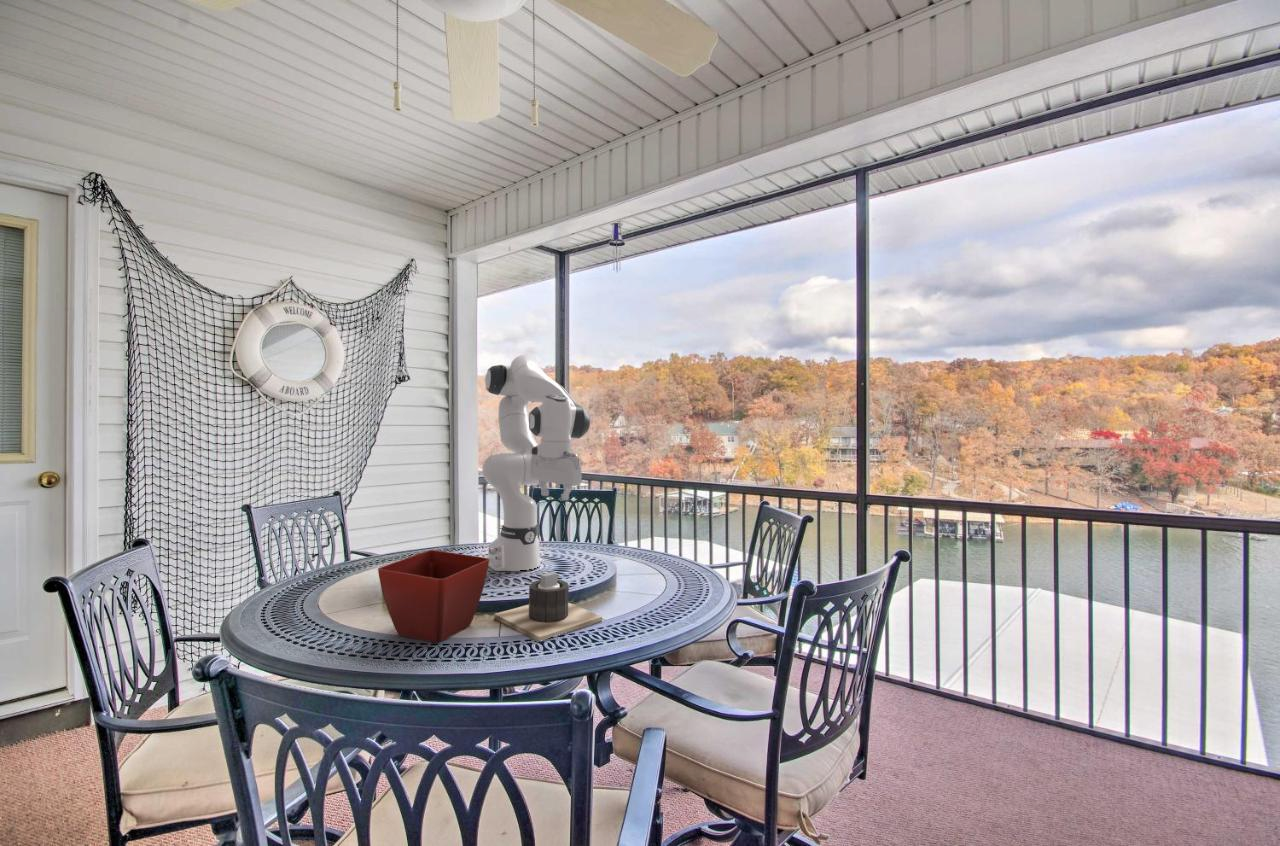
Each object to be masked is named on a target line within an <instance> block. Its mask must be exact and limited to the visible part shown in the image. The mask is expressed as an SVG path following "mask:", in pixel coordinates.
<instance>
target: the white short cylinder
mask: <svg viewBox="0 0 1280 846" xmlns="http://www.w3.org/2000/svg"><path fill="white" fill-rule="evenodd" d="M558 577H559V576H558V572H555V571H549V572H546V573H542V574H540V579H539V580H540V584H539V585H538V588H539V589H544V590H553V589H558V588H560V585H559V584H558V583H557V580H558Z"/></svg>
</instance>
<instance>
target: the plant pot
mask: <svg viewBox="0 0 1280 846" xmlns="http://www.w3.org/2000/svg"><path fill="white" fill-rule="evenodd" d="M483 557H484V556H483ZM483 557H482V556H476V555H469V554H462V553H455V552H448V551H441V550H437V549H429V550H425V551H423V552H421V553H420V552H419V553H417V554H414V555H411V556H409V557H406V558H404V559H401V560H397V561H395V562H394V561H393V562H391V563H389V564H386V565H383V566H380V567H378V568H377V572H378V578H379V583H380V588H381V593H382V596H383V600H384V603H385V605H386V608H387V612H388V615H389V617H390V619H391V621H392V624H393V627H394V629H395V632H396V634H397V635H399V636H403V637H409V638H412V639H418V640H422V641H426V642H432V643H436V644H437V643H441V642H443V641H445V640H446V639H448V638H450V637H452V636H453V635H455V634H457V633H458V632H460V631H462V630H464V629H465V628H467V627H469V626H470V625H472V622H473V619H474V617H475V614H476V612H477V609H478V606H479V604H480V600H481V597H482V594H483V591H484V586H485V582H486V579H487V574H488V570H489V569H488V568H489V566H488V565H489V559H488V558H483Z"/></svg>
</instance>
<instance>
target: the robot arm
mask: <svg viewBox="0 0 1280 846" xmlns="http://www.w3.org/2000/svg"><path fill="white" fill-rule="evenodd" d="M484 382H485V383H484V384H485V387H486V390H487V392H488V393H490V394H492V395H495V396H499V395H501V396H503V397H502V398H501V399H500V401H499V405H498V425H499V434H500V441H501V443H502V445H503V446H504V447H505V448H506V449H507V450H509V451H512V453H511V452H510V453H506V452H505V453H496V454H493V455H489V456H488V457H487V458H486V459H485V460H484V462H483V465H482V470H481V471H482V477H483V479H484V480H485V482H487V484H489V485H490V486H492V487H493V488H494V489H495V490H496V492H497V493H498V494H499V496H500V499H501V500H502V501H501V502H502V508H503V509H502V511H503V524H501V525H499V530H500V534H499V536H498V537H497V538H495V539H494V540H493V541H492V542H491V543H490V544H489V545H488V554H487V555H485V556H483V558H488V559H489V565H488V568H490V569H492V570H494V571H495V572H505V571H506V572H521V571H520V570H527V571H530V570H529V569H532V570H535V569H534V568H536V569H538V568H540V567H541V563H542V562H543V558H542V557H541V552H540V551H541V550H540V549H541V548H540V539H539V538H538V531H539V529H538V528H539V527H538V524H537V513H538V511H537V503H536V500H535V499H533V498H532V497H531V496H530V495H527V494H525V493H522V492H521V490H520V489H521V486H534V485H536V486H537V485H539V487H540V493H541V497H542V496H543V497H548V496H550V489H548V486H547V484H548V483H552V484H558V485H563V486H562V488H563V489H564V490H563V493H561V494H560V500H562V501H569V499H570V494H571V492H572V490H573V487H579V486H581V484H582V479H583V477H582V467H581V461H580V458H579V456H578V455H577V453H575V452H572V439H581V438H582V437H583V436H585V434H587V433H588V431H589V429H590V425H591V420H590V419H591V418H590V415H589V413H588V411H587V410H586V409H585V408H584V407H583V405H580V404H578V403H577V402H576V400H575V399H574V398H573V396H572V395H570V393H569V392H568V391H567V390H566V388H564V386H563V385H561V384H560V383H558V382H556V381H555V380H554V379H552V378H550V376H548V375H547V373H545V371H544V370H543V369H542V366H541V365H540V364H539V363H538V362H537V360H536V359H535V358H533V357H532V356H529V355H527V354H522V355H518V356H517V357H515V358H514V359H513V360H512V361H511V363H510V365H503V364H497V365H492V366H490V367H489V368H488V369H487V371H486V373H485V378H484ZM529 402H531V403H541V404H540V405H539V406H535V407H534V408H533V409H531V411H529V409H528V404H529ZM535 437H538V438H539V437H540V443H538V442H537V440H536V438H535ZM537 567H538V568H537Z"/></svg>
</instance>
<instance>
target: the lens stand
mask: <svg viewBox="0 0 1280 846" xmlns="http://www.w3.org/2000/svg"><path fill="white" fill-rule="evenodd" d="M557 583H558V584H559V585H560V588H558V589H553V590H544V589H539V588H538V585H539V584H540V579H539V580H536V581H535V580H534V581H533V582H531V583H530V584H529V589H528V604H525V605H521V606H519V607H515V608H511V609H508V610H503V611H500V612H496V613H494V617H493V619H494V620H496V621H498V622H501V623H502V624H503V625H506V626H508V627H510V628H512V629H514V630H516V631H517V632H519V633H521V634H523V635H525V636H528V637H530V638H531V639H533V640H535V639H536V640H535V641H537V640H538V641H537V642H539V641H541V640H544V641H546V640H545V639H547V638H550V637H553V636H555V635H559V634H562V633H565V632H568V633H570V632H569V631H571V632H573V631H572V630H574V631H576V630H575V629H577V630H580V629H583V628H586V627H589V626H591V625H595V624H598V623H601V622H603V616H601V615H599V614H597V613H595V612H592V611H590V610H588V609H585V608H582V607H580V606H578V605H575V604H573V603H571V602H569V595H570V594H569V592H570V591H569V589H570V586H569V583H568V582H566V581H564V580H561V579H557ZM579 628H580V629H579ZM565 634H566V633H565ZM562 635H563V634H562ZM559 636H560V635H559ZM553 638H554V637H553ZM550 639H551V638H550ZM547 640H548V639H547ZM541 642H542V641H541Z"/></svg>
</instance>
